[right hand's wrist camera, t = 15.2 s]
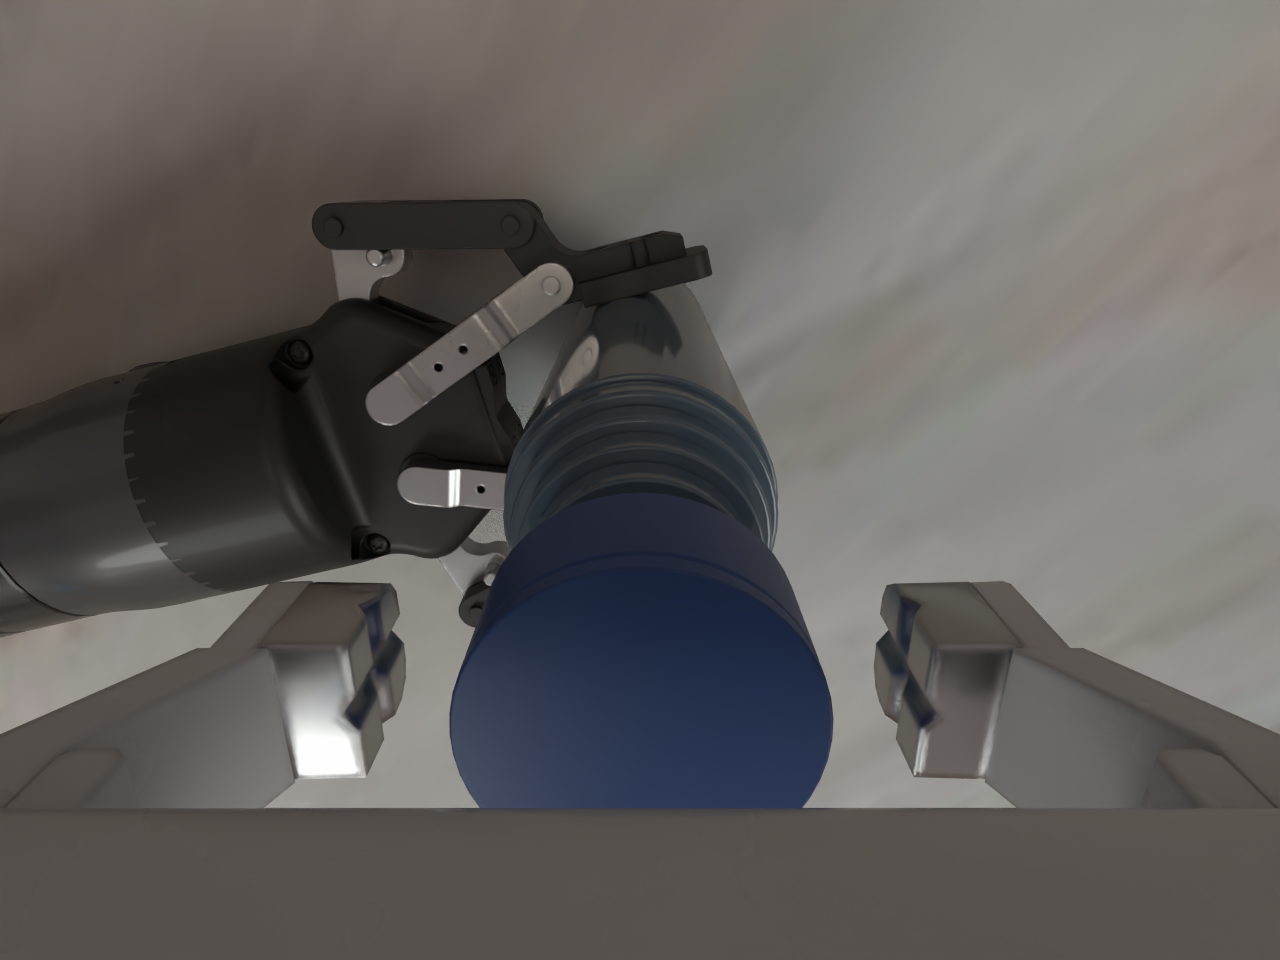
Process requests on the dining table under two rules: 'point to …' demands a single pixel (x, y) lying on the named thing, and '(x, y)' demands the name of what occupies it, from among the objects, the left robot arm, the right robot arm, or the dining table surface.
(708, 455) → the bottle
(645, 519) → the cap
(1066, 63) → the dining table surface
